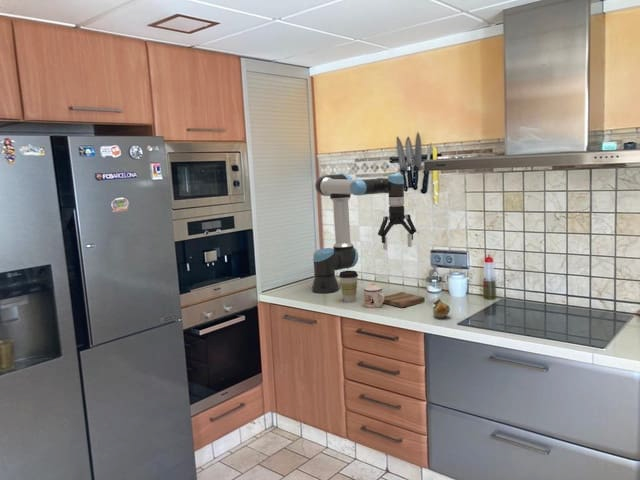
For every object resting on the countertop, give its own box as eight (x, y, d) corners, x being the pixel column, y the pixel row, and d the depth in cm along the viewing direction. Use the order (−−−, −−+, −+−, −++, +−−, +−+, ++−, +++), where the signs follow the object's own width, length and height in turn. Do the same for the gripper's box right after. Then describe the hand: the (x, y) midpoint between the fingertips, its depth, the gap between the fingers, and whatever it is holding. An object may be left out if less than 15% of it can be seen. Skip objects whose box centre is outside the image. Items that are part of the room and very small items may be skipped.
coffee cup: (344, 304, 267) (343, 275, 265) (337, 299, 276) (335, 271, 274) (362, 301, 270) (361, 272, 268) (354, 297, 279) (352, 269, 277)
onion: (431, 319, 233) (431, 302, 232) (433, 314, 241) (432, 297, 239) (449, 320, 231) (449, 302, 230) (450, 315, 239) (449, 297, 237)
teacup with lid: (360, 306, 261) (359, 283, 260) (373, 302, 267) (372, 280, 265) (377, 310, 252) (376, 286, 250) (390, 306, 258) (390, 283, 256)
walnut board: (379, 302, 266) (379, 297, 266) (402, 296, 275) (401, 292, 275) (401, 308, 253) (401, 303, 253) (424, 302, 262) (424, 297, 262)
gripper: (376, 207, 251) (378, 251, 254) (422, 204, 259) (423, 246, 262) (370, 206, 258) (371, 249, 261) (415, 203, 266) (415, 244, 269)
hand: (397, 248), depth 261 cm, fingers open, 13 cm apart
